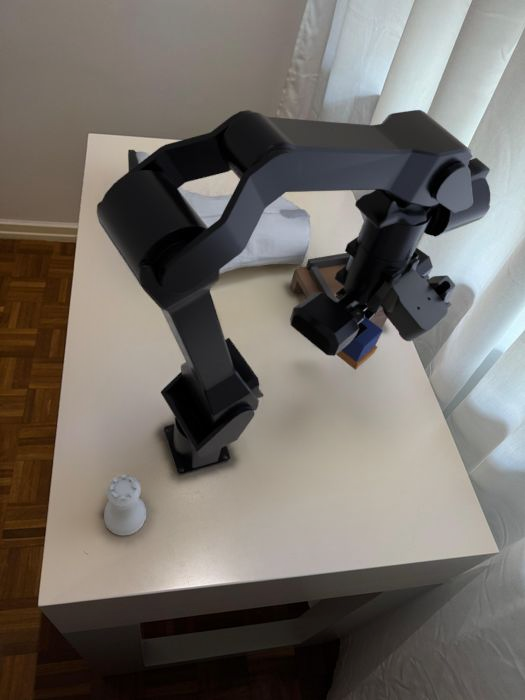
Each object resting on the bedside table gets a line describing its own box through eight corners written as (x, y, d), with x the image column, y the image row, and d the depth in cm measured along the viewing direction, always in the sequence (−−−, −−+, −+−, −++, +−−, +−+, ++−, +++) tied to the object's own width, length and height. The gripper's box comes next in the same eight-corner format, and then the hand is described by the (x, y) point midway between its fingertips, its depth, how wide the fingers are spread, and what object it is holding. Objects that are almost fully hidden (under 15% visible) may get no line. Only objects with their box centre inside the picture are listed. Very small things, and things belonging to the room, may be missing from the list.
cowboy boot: (158, 258, 75) (329, 241, 83) (120, 122, 88) (272, 119, 96) (155, 301, 83) (311, 282, 91) (121, 171, 96) (261, 164, 104)
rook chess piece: (131, 489, 64) (130, 457, 58) (154, 520, 63) (155, 490, 56) (95, 513, 62) (90, 482, 56) (119, 545, 60) (116, 517, 54)
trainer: (374, 352, 70) (385, 331, 67) (355, 370, 68) (365, 349, 65) (319, 308, 73) (327, 286, 70) (299, 324, 71) (306, 302, 68)
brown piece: (382, 328, 85) (395, 303, 81) (319, 342, 82) (329, 317, 77) (349, 275, 91) (360, 249, 87) (289, 286, 87) (297, 260, 83)
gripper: (398, 339, 50) (348, 427, 62) (499, 248, 59) (438, 339, 72) (303, 265, 53) (274, 362, 66) (412, 191, 63) (369, 287, 75)
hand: (344, 337), depth 69 cm, fingers closed on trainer, 4 cm apart
